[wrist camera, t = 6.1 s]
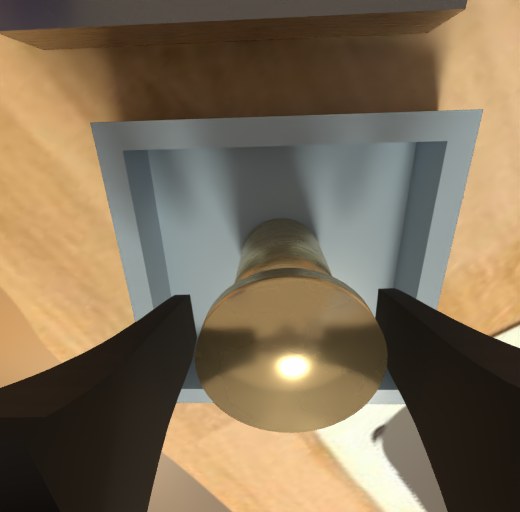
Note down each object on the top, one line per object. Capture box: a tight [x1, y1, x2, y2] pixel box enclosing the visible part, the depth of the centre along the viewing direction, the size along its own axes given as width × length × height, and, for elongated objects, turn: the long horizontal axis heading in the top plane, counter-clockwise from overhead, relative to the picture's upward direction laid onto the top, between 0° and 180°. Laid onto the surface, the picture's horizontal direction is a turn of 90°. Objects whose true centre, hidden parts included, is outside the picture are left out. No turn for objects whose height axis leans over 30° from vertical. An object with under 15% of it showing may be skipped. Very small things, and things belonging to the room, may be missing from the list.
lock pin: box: [195, 218, 388, 433], centre depth 12 cm, size 5×5×8 cm
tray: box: [90, 109, 483, 404], centre depth 15 cm, size 14×14×3 cm
